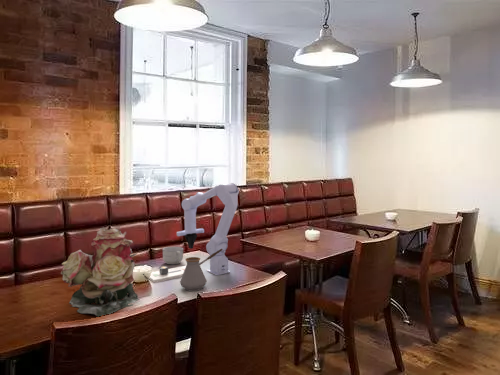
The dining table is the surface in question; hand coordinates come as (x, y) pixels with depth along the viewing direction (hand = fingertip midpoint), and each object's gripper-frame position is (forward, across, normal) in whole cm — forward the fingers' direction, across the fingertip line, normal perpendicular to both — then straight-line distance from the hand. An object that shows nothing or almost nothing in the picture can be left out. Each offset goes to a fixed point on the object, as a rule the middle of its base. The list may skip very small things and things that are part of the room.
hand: (190, 248), depth 210 cm
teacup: (+10, +5, -10) cm, 15 cm away
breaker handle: (+8, +18, +7) cm, 21 cm away
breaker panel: (+9, +14, +7) cm, 19 cm away
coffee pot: (+10, +10, +30) cm, 33 cm away
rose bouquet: (+10, +50, +26) cm, 57 cm away
